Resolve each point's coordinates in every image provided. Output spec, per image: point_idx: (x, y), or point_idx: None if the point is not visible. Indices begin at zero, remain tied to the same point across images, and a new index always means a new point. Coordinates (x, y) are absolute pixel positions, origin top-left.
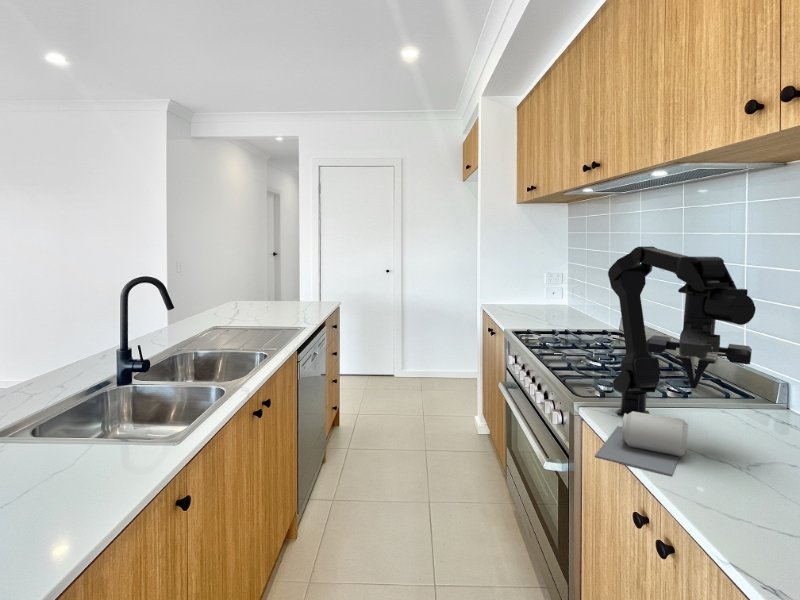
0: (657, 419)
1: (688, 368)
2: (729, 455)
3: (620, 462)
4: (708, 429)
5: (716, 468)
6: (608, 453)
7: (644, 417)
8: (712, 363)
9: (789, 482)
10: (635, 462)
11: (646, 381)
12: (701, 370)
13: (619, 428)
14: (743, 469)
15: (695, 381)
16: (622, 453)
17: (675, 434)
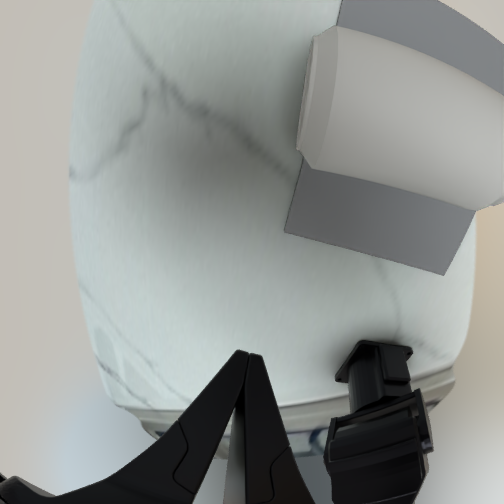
0: (443, 94)
1: (279, 486)
2: (177, 169)
3: (469, 19)
4: (215, 328)
5: (222, 53)
6: (495, 68)
7: (485, 114)
8: (18, 483)
9: (82, 68)
10: (440, 17)
11: (374, 432)
12: (165, 459)
13: (445, 260)
14: (155, 84)
15: (232, 386)
16: (470, 71)
17: (361, 33)
